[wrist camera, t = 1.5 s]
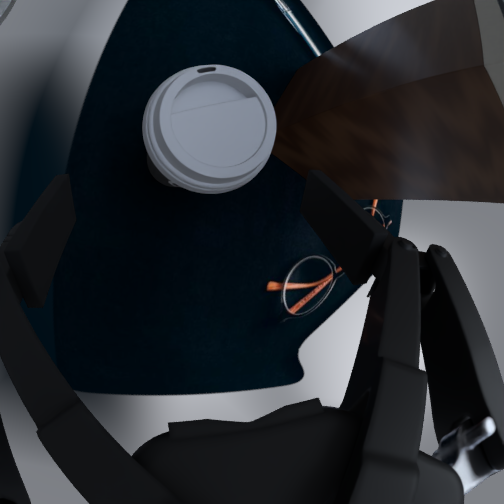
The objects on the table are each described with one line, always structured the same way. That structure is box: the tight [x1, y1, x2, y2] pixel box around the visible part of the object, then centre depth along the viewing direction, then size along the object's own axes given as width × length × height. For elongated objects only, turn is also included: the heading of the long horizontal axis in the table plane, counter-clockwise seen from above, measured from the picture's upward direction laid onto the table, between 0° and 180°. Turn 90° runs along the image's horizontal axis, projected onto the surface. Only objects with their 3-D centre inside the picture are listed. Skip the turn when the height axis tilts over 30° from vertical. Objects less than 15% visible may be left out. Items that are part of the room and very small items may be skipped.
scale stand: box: [271, 0, 504, 203], centre depth 25 cm, size 14×14×28 cm
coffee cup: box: [142, 65, 276, 194], centre depth 24 cm, size 10×10×15 cm
